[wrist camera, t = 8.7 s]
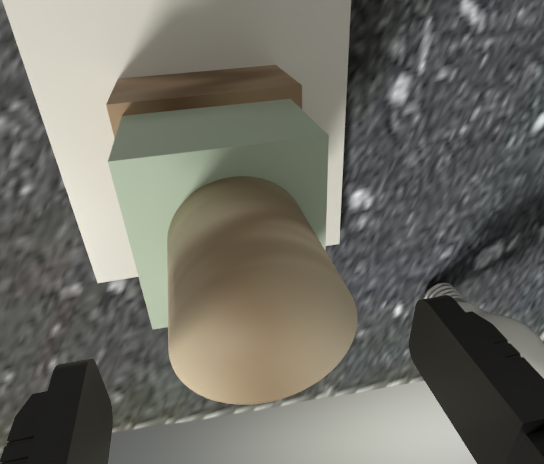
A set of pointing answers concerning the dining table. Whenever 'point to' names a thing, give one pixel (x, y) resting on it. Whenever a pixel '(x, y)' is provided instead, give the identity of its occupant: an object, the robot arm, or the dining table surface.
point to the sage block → (209, 172)
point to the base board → (160, 61)
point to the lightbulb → (501, 327)
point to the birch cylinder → (252, 295)
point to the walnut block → (200, 91)
